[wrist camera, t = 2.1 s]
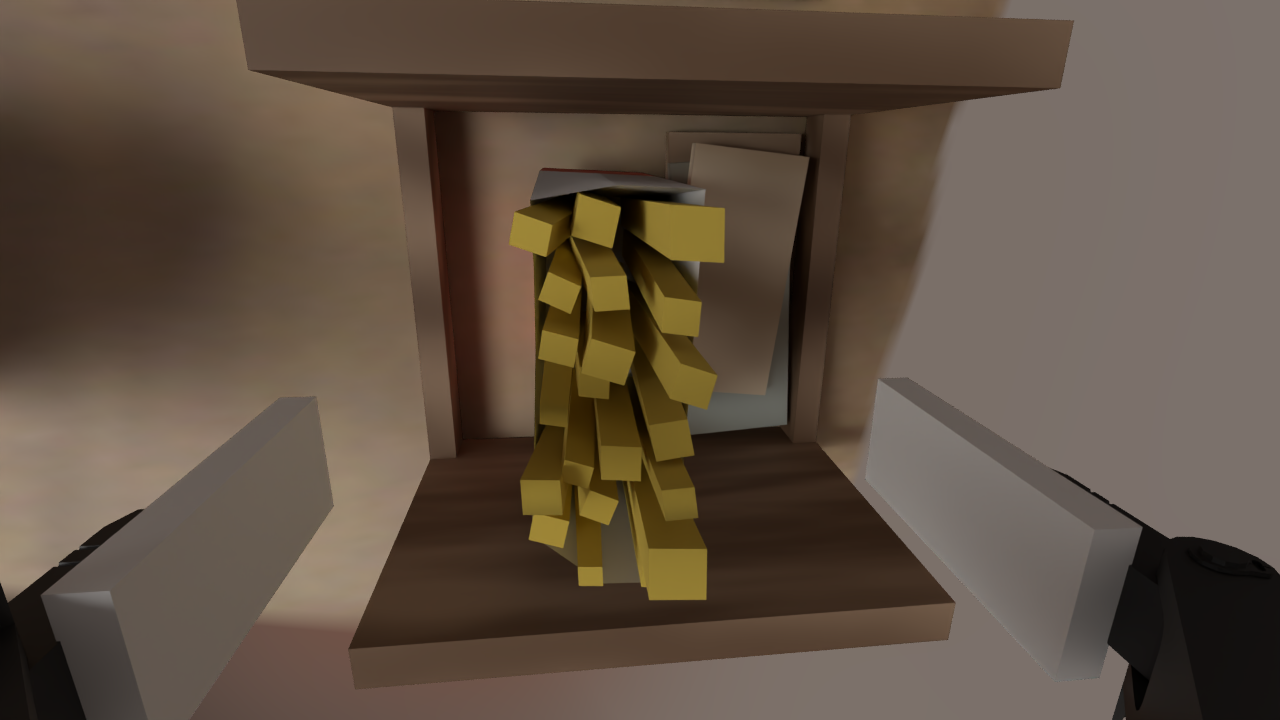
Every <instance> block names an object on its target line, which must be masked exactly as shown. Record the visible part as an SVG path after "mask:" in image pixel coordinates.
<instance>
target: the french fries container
mask: <svg viewBox="0 0 1280 720" xmlns="http://www.w3.org/2000/svg"><path fill="white" fill-rule="evenodd" d="M705 190H706V189H703V188H699V187H695V186H691V185H687V184H683V183H680V182H676V181H672V180H668V179H664V178H660V177H657V176H653V175H649V174H645V173H637V172H617V171H597V170H577V169H556V168H543V169H541V170H540V172H539V175H538V178H537V181H536V184H535V187H534V191H533V194H532V197H531V200H530V204H531V206H530V207H527V208H524V209H521V210H518V211H515V212H514V218H513V224H512V229H511V235H510V240H509V245H512V246H515V247H518V248H521V249H524V250H527V251H529V252H532V253H533V261H534V293H535V341H536V363H535V437H534V452H533V454H532V456H531V458H530V460H529V462H528V464H527V467H526V469H525V471H524V473H523V475H522V477H521V479H520V484H521V497H522V509H523V515H532V524H531V530H530V535H529V540H532V541H536V542H540V543H544V544H545V545H547V546H548V547H550V548H551V549H553V550H554V551H556V552H557V553H559V554H560V555H561V556H563V557H564V558H566V559H567V560H569V561H570V562H572V563H573V564H575V565H576V566H578V580H579V586H603V583H639V582H640V583H641V587H647V592H648V597H649V600H706V587H707V548H706V546H705V544H704V541H703V539H702V537H701V535H700V533H699V531H698V529H697V526H696V524H695V522H694V520H693V518H698V511H697V503H696V495H695V487H694V485H693V483H692V481H691V479H690V477H689V474H688V472H687V470H686V468H685V466H684V457H687V456H693V455H694V449H693V444H692V439H691V434H690V429H689V424H688V419H687V415H688V404H689V405H692V406H695V407H699V408H702V409H705V410H707V408H708V405H709V402H710V399H711V396H712V392H713V389H714V386H715V383H716V380H717V376H718V375H717V374H716V373H715V371H714V370H713V369H712V367H711V366H710V365H709V364H708V362H707V361H706V360H705V359H704V357H703V356H702V355H701V354H700V352H699V351H698V350H697V349H696V347H695V346H694V345H693V340H694V337H698V335H699V325H700V315H701V306H702V302H701V300H700V299H699V298H698V296H697V290H698V277H699V265H700V262H717V263H724V242H725V208H719V207H711V206H704V202H705Z"/></svg>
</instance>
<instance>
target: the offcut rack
mask: <svg viewBox="0 0 1280 720" xmlns="http://www.w3.org/2000/svg"><path fill="white" fill-rule="evenodd" d="M236 2H237V7H238V13H239V19H240V25H241V31H242V36H243V42H244V48H245V54H246V60H247V65H248V70H251V71H255V72H258V73H262V74H266V75H270V76H274V77H278V78H282V79H285V80H289V81H293V82H297V83H301V84H305V85H309V86H312V87H316V88H320V89H324V90H328V91H332V92H336V93H339V94H343V95H347V96H351V97H355V98H359V99H362V100H366V101H370V102H374V103H378V104H382V105H386V106H389V107H392V108H393V117H394V127H395V136H396V145H397V154H398V164H399V173H400V182H401V191H402V201H403V210H404V219H405V228H406V238H407V247H408V256H409V265H410V275H411V284H412V293H413V303H414V312H415V321H416V330H417V340H418V349H419V358H420V367H421V377H422V386H423V395H424V404H425V414H426V423H427V432H428V441H429V451H430V461H429V464H428V466H427V468H426V471H425V473H424V475H423V478H422V480H421V482H420V485H419V487H418V489H417V492H416V494H415V496H414V498H413V501H412V503H411V505H410V508H409V510H408V512H407V515H406V517H405V519H404V522H403V524H402V526H401V529H400V531H399V533H398V535H397V538H396V540H395V542H394V545H393V547H392V549H391V552H390V554H389V556H388V559H387V561H386V563H385V566H384V568H383V570H382V573H381V575H380V577H379V579H378V582H377V584H376V586H375V589H374V591H373V593H372V596H371V598H370V600H369V603H368V605H367V607H366V610H365V612H364V614H363V616H362V619H361V621H360V623H359V626H358V628H357V630H356V633H355V635H354V637H353V640H352V642H351V644H350V647H349V649H348V650H349V656H350V662H351V668H352V674H353V679H354V685H355V689H366V688H378V687H390V686H400V685H401V686H402V685H414V684H426V683H437V682H449V681H460V680H473V679H485V678H497V677H509V676H521V675H533V674H545V673H557V672H569V671H581V670H593V669H605V668H617V667H629V666H640V665H652V664H664V663H676V662H688V661H700V660H712V659H724V658H736V657H748V656H760V655H772V654H784V653H795V652H808V651H819V650H830V649H831V650H832V649H844V648H855V647H867V646H879V645H891V644H903V643H914V642H927V641H939V640H948V638H949V633H950V628H951V622H952V618H953V613H954V608H955V602H954V600H953V599H952V598H951V597H950V596H949V595H948V593H947V592H946V591H945V590H944V589H943V588H942V587H941V585H940V584H939V583H938V582H937V581H936V580H935V578H934V577H933V576H932V575H931V574H930V573H929V572H928V570H927V569H926V568H925V567H924V566H923V565H922V564H921V562H920V561H919V560H918V559H917V558H916V557H915V556H914V554H913V553H912V552H911V551H910V550H909V549H908V548H907V547H906V545H905V544H904V543H903V542H902V541H901V539H900V538H899V537H898V536H897V535H896V534H895V532H894V531H893V530H892V529H891V528H890V527H889V526H888V525H887V523H886V522H885V521H884V520H883V519H882V518H881V516H880V515H879V514H878V513H877V512H876V511H875V509H874V508H873V507H872V506H871V505H870V504H869V503H868V501H867V500H866V499H865V498H864V497H863V496H862V494H861V493H860V492H859V491H858V490H857V489H856V488H855V486H854V485H853V484H852V483H851V482H850V481H849V480H848V478H847V477H846V476H845V475H844V474H843V473H842V471H841V470H840V469H839V468H838V467H837V466H836V465H835V463H834V462H833V461H832V460H831V459H830V458H829V457H828V455H827V454H826V453H825V452H824V451H823V450H822V448H821V447H820V446H819V445H818V444H817V443H816V437H817V427H818V418H819V409H820V399H821V390H822V381H823V371H824V362H825V353H826V344H827V334H828V325H829V316H830V306H831V297H832V288H833V278H834V269H835V260H836V250H837V241H838V232H839V223H840V213H841V204H842V195H843V185H844V176H845V167H846V157H847V148H848V139H849V129H850V120H851V115H854V114H862V113H870V112H877V111H885V110H893V109H901V108H909V107H917V106H924V105H932V104H940V103H948V102H956V101H963V100H971V99H978V98H987V97H995V96H1002V95H1010V94H1018V93H1026V92H1034V91H1042V90H1049V89H1057V88H1060V87H1061V82H1062V76H1063V72H1064V67H1065V62H1066V57H1067V52H1068V47H1069V42H1070V37H1071V33H1072V28H1073V22H1074V21H1070V20H1043V19H1015V18H987V17H959V16H931V15H903V14H875V13H847V12H819V11H791V10H763V9H736V8H708V7H680V6H652V5H624V4H596V3H568V2H540V1H512V0H236ZM434 111H472V112H535V113H597V114H659V115H721V116H784V117H807V124H806V135H805V147H804V156H799V155H800V144H801V134H787V133H710V132H666V176H665V179H668V180H672V181H676V182H680V183H683V184H687V185H691V186H695V187H699V188H703V189H706V190H705V202H704V206H711V207H719V208H725V242H724V263H717V262H700V265H699V277H698V290H697V296H698V298H699V299H700V300H701V302H702V306H701V315H700V325H699V335H698V337H694V340H693V345H694V346H695V347H696V349H697V350H698V351H699V352H700V354H701V355H702V356H703V357H704V359H705V360H706V361H707V362H708V364H709V365H710V366H711V367H712V369H713V370H714V371H715V373H716V374H717V375H718V376H717V380H716V383H715V386H714V389H713V392H712V396H711V399H710V402H709V405H708V408H707V410H705V409H702V408H699V407H695V406H692V405H689V404H688V415H687V419H688V424H689V429H690V434H691V439H692V444H693V449H694V455H693V456H687V457H684V466H685V468H686V470H687V472H688V474H689V477H690V479H691V481H692V483H693V485H694V487H695V495H696V503H697V511H698V518H693V520H694V522H695V524H696V526H697V529H698V531H699V533H700V535H701V537H702V539H703V541H704V544H705V546H706V548H707V587H706V600H649V597H648V592H647V587H641V583H640V582H639V583H603V586H579V580H578V566H576V565H575V564H573V563H572V562H570V561H569V560H567V559H566V558H564V557H563V556H561V555H560V554H559V553H557V552H556V551H554V550H553V549H551V548H550V547H548V546H547V545H545V544H544V543H540V542H536V541H532V540H529V535H530V530H531V524H532V515H523V509H522V497H521V484H520V479H521V477H522V475H523V473H524V471H525V469H526V467H527V464H528V462H529V460H530V458H531V456H532V454H533V452H534V437H520V438H496V439H472V440H463V437H462V425H461V414H460V403H459V392H458V380H457V369H456V358H455V347H454V335H453V324H452V313H451V302H450V290H449V279H448V268H447V257H446V245H445V234H444V223H443V212H442V200H441V189H440V178H439V167H438V155H437V144H436V133H435V122H434ZM797 222H798V227H797ZM796 227H797V239H796V250H795V262H794V273H793V285H792V296H791V308H790V319H789V275H790V262H791V254H792V249H793V243H794V238H795V233H796ZM778 425H780V427H769V426H778ZM759 427H761V428H759Z"/></svg>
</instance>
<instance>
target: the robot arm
mask: <svg viewBox="0 0 1280 720" xmlns="http://www.w3.org/2000/svg"><path fill="white" fill-rule="evenodd" d="M865 480H866V481H867V482H868V483H869V484H870V485H871V486H872V487H873V488H874V489H875V491H877V493H878V494H879V495H880V496H881V497H882V498H883V499H884V500H885V501H886V502H887V503H888V504H889V505H890V506H891V508H892V509H893V510H894V511H895V512H896V513H897V514H898V515H899V516H900V517H901V518H902V519H903V520H904V521H905V523H906V524H907V525H908V526H909V527H910V528H911V529H912V530H913V531H914V532H915V533H916V534H917V535H918V536H919V537H920V538H921V540H922V541H923V542H924V543H925V544H926V545H927V546H928V547H929V548H930V549H931V550H932V551H933V552H934V553H935V555H936V556H937V557H938V558H939V559H940V560H941V561H942V562H943V563H944V564H945V565H946V566H947V567H948V568H949V569H950V571H951V572H952V573H953V574H954V575H955V576H956V577H957V578H958V579H959V580H960V581H961V582H962V583H963V584H964V585H965V586H966V588H967V589H968V590H969V591H970V592H971V593H972V594H973V595H974V596H975V597H976V598H977V599H978V600H979V601H980V602H981V604H982V605H983V606H984V607H985V608H986V609H987V610H988V611H989V612H990V613H991V614H992V615H993V616H994V617H995V618H996V619H997V621H998V622H999V623H1000V624H1001V625H1002V626H1003V627H1004V628H1005V629H1006V630H1007V631H1008V632H1009V633H1010V634H1011V636H1012V637H1013V638H1014V639H1015V640H1016V641H1017V642H1018V643H1019V644H1020V645H1021V646H1022V647H1023V648H1024V649H1025V650H1026V652H1027V653H1028V654H1029V655H1030V656H1031V657H1032V658H1033V659H1034V660H1035V661H1036V662H1037V663H1038V664H1039V665H1040V666H1041V667H1042V669H1044V671H1045V672H1046V673H1047V674H1048V675H1049V676H1050V677H1051V678H1052V679H1053V680H1054V681H1055V682H1058V681H1059V682H1060V681H1071V680H1082V679H1093V678H1099V677H1100V674H1101V670H1102V667H1103V663H1104V660H1105V656H1106V653H1107V649H1108V646H1109V645H1110V646H1111V647H1112V648H1113V649H1114V650H1115V651H1116V652H1117V653H1119V654H1120V655H1121V656H1122V657H1123V658H1124V659H1125V660H1126V661H1127V662H1128V663H1129V666H1128V669H1127V672H1126V676H1125V679H1124V682H1123V685H1122V689H1121V692H1120V696H1119V699H1118V702H1117V705H1116V709H1115V712H1114V715H1113V718H1112V720H1123V718H1124V717H1126V720H1280V574H1279V573H1278V572H1277V571H1276V570H1275V569H1274V568H1273V567H1271V566H1270V565H1268V564H1267V563H1265V562H1264V561H1262V560H1261V559H1259V558H1258V557H1256V556H1253V555H1251V554H1249V553H1247V552H1245V551H1242V550H1240V549H1238V548H1235V547H1232V546H1229V545H1226V544H1222V543H1219V542H1216V541H1212V540H1207V539H1202V538H1195V537H1175V538H1172V539H1169V538H1167V537H1166V536H1164V535H1162V534H1161V533H1159V532H1158V531H1156V530H1154V529H1153V528H1151V527H1150V526H1148V525H1146V524H1145V523H1143V522H1142V521H1140V520H1139V519H1137V518H1135V517H1134V516H1132V515H1131V514H1129V513H1127V512H1125V511H1124V510H1123V509H1121V508H1119V507H1118V506H1116V505H1114V504H1109V501H1108V500H1106V499H1105V498H1103V497H1102V496H1100V495H1099V494H1097V493H1095V492H1091V491H1090V489H1089V488H1087V487H1086V486H1084V485H1083V484H1081V483H1079V482H1078V481H1076V480H1074V479H1073V478H1071V477H1070V476H1068V475H1066V474H1063V473H1061V472H1059V471H1056V470H1054V469H1051V468H1049V467H1047V466H1046V465H1044V464H1043V463H1041V462H1039V461H1038V460H1036V459H1035V458H1033V457H1032V456H1030V455H1028V454H1027V453H1025V452H1024V451H1022V450H1021V449H1019V448H1017V447H1016V446H1014V445H1013V444H1011V443H1010V442H1008V441H1006V440H1005V439H1003V438H1002V437H1000V436H999V435H997V434H995V433H994V432H992V431H991V430H989V429H987V428H986V427H984V426H983V425H981V424H980V423H978V422H976V421H975V420H973V419H972V418H970V417H969V416H967V415H965V414H964V413H962V412H961V411H959V410H958V409H956V408H954V407H953V406H951V405H950V404H948V403H946V402H945V401H943V400H942V399H940V398H939V397H937V396H935V395H934V394H932V393H931V392H929V391H928V390H926V389H925V388H923V387H921V386H920V385H918V384H917V383H915V382H914V381H912V380H910V379H909V378H883V379H878V383H877V390H876V398H875V406H874V413H873V421H872V429H871V437H870V444H869V452H868V460H867V467H866V476H865ZM333 506H334V505H333V499H332V492H331V486H330V480H329V474H328V467H327V461H326V455H325V449H324V442H323V436H322V430H321V424H320V417H319V411H318V405H317V399H316V397H285V398H279V399H278V400H276V401H275V402H274V403H273V404H272V405H270V406H269V407H268V408H267V409H265V410H264V411H263V412H262V413H261V414H259V415H258V416H257V417H256V418H255V419H253V420H252V421H251V422H250V423H249V424H247V425H246V426H245V427H244V428H242V429H241V430H240V431H239V432H238V433H236V434H235V435H234V436H233V437H232V438H230V439H229V440H228V441H227V442H226V443H224V444H223V445H222V446H221V447H219V448H218V449H217V450H216V451H215V452H213V453H212V454H211V455H210V456H209V457H207V458H206V459H205V460H204V461H202V462H201V463H200V464H199V465H198V466H196V467H195V468H194V469H193V470H192V471H190V472H189V473H188V474H187V475H186V476H184V477H183V478H182V479H181V480H179V481H178V482H177V483H176V484H175V485H173V486H172V487H171V488H170V489H169V490H167V491H166V492H165V493H164V494H163V495H161V496H160V497H159V498H158V499H156V500H155V501H154V502H153V503H152V504H150V505H149V506H148V507H147V508H146V509H139V510H136V511H134V512H132V513H130V514H129V515H127V516H125V517H123V518H121V519H119V520H117V521H115V522H113V523H111V524H109V525H107V526H105V527H103V528H102V529H101V530H100V531H98V532H97V533H96V534H95V535H93V536H92V537H91V538H90V539H88V540H87V541H86V542H84V543H83V544H82V545H81V546H80V549H79V550H74V551H73V552H72V553H71V554H69V555H68V556H67V557H66V558H64V559H63V560H62V561H60V562H59V566H58V567H53V568H52V569H50V570H49V571H48V572H47V573H45V574H44V575H43V576H42V577H40V578H39V579H38V580H36V581H35V582H34V583H33V584H31V585H30V586H29V587H28V588H26V589H25V590H24V591H23V592H21V593H20V594H19V595H18V596H16V597H15V598H14V599H12V600H11V601H10V602H9V603H7V600H6V597H5V594H4V591H3V589H2V586H1V583H0V720H189V719H190V718H191V716H192V715H193V713H194V712H195V711H196V709H197V707H198V706H199V705H200V703H201V702H202V700H203V698H204V697H205V695H206V694H207V693H208V691H209V690H210V688H211V687H212V685H213V684H214V682H215V681H216V679H217V678H218V677H219V675H220V674H221V672H222V671H223V669H224V668H225V666H226V665H227V663H228V662H229V660H230V659H231V657H232V656H233V654H234V653H235V651H236V650H237V648H238V647H239V645H240V644H241V642H242V641H243V639H244V638H245V636H246V635H247V634H248V632H249V631H250V629H251V627H252V626H253V625H254V623H255V622H256V620H257V619H258V617H259V616H260V614H261V613H262V611H263V610H264V608H265V607H266V605H267V604H268V602H269V601H270V599H271V598H272V596H273V595H274V594H275V592H276V591H277V589H278V588H279V586H280V585H281V583H282V582H283V580H284V579H285V577H286V576H287V574H288V573H289V571H290V570H291V568H292V567H293V565H294V564H295V562H296V561H297V559H298V558H299V556H300V555H301V554H302V552H303V551H304V549H305V548H306V546H307V545H308V543H309V542H310V540H311V539H312V537H313V536H314V534H315V533H316V531H317V530H318V528H319V527H320V525H321V524H322V522H323V521H324V519H325V518H326V516H327V515H328V513H329V512H330V511H331V509H332V508H333Z"/></svg>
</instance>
